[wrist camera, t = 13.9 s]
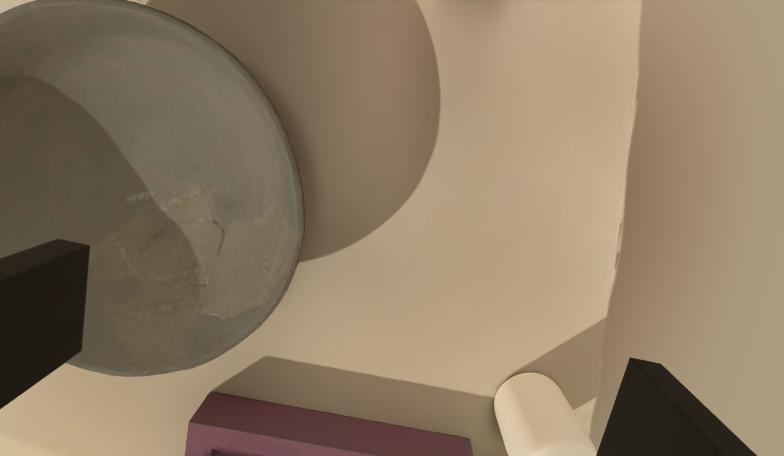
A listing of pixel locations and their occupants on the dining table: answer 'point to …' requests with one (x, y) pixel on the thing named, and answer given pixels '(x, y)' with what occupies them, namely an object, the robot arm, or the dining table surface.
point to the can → (538, 419)
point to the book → (304, 433)
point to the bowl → (146, 179)
